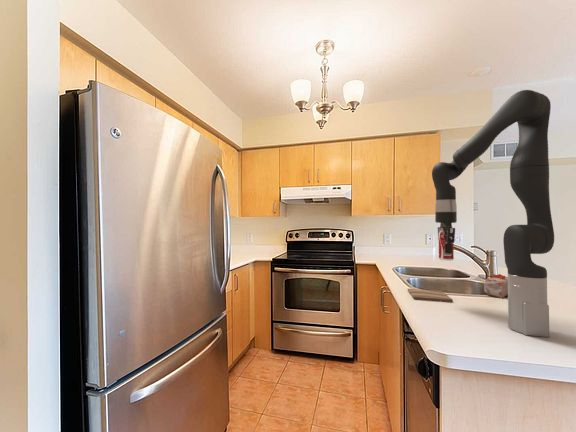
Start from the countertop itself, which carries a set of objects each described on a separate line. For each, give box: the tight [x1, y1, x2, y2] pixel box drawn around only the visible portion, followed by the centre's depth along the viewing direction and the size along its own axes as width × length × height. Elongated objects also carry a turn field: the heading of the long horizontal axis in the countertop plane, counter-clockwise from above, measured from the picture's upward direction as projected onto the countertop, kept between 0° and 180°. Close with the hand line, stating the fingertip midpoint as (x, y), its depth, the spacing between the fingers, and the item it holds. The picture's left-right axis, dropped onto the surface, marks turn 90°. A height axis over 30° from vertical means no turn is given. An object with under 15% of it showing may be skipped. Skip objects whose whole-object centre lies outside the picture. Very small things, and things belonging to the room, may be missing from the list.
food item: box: [483, 273, 508, 299], centre depth 123 cm, size 14×8×10 cm, turn 127°
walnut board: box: [407, 288, 454, 303], centre depth 121 cm, size 15×15×1 cm
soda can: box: [438, 231, 454, 261], centre depth 108 cm, size 5×5×12 cm
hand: (445, 252), depth 108 cm, fingers closed on soda can, 5 cm apart
